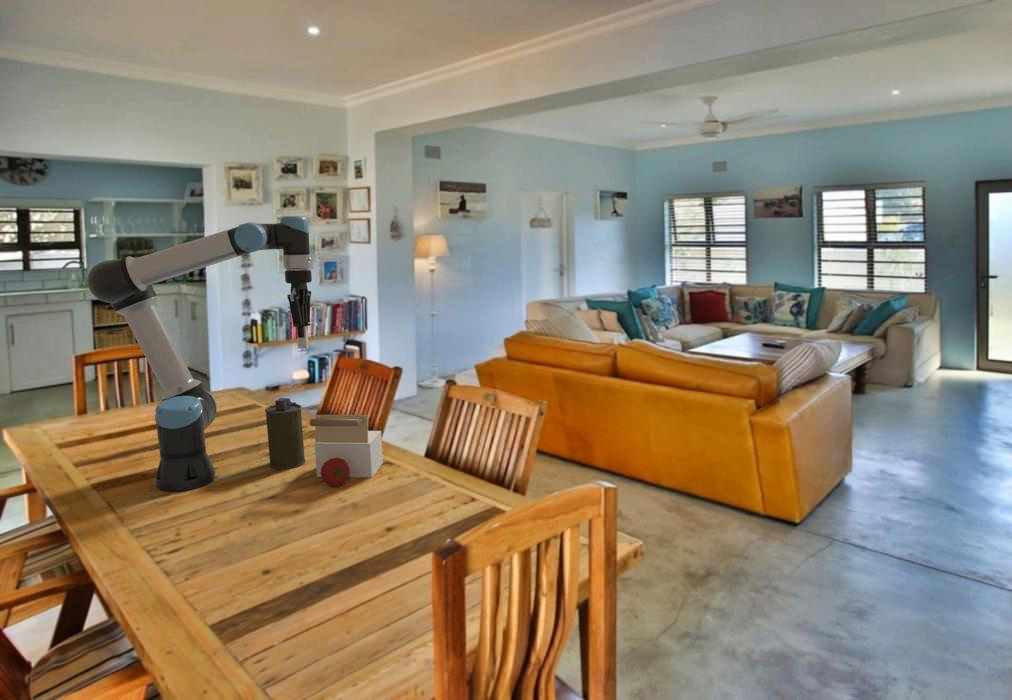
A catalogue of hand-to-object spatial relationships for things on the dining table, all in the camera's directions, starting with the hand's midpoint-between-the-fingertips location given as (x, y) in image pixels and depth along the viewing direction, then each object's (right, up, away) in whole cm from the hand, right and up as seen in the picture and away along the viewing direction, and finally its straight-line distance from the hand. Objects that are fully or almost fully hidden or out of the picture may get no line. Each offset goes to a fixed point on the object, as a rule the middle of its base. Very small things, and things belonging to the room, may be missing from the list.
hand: (303, 347), depth 202 cm
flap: (+15, -23, -14) cm, 31 cm away
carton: (+16, -36, -6) cm, 40 cm away
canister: (-5, -35, +1) cm, 35 cm away
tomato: (+15, -38, -18) cm, 45 cm away
